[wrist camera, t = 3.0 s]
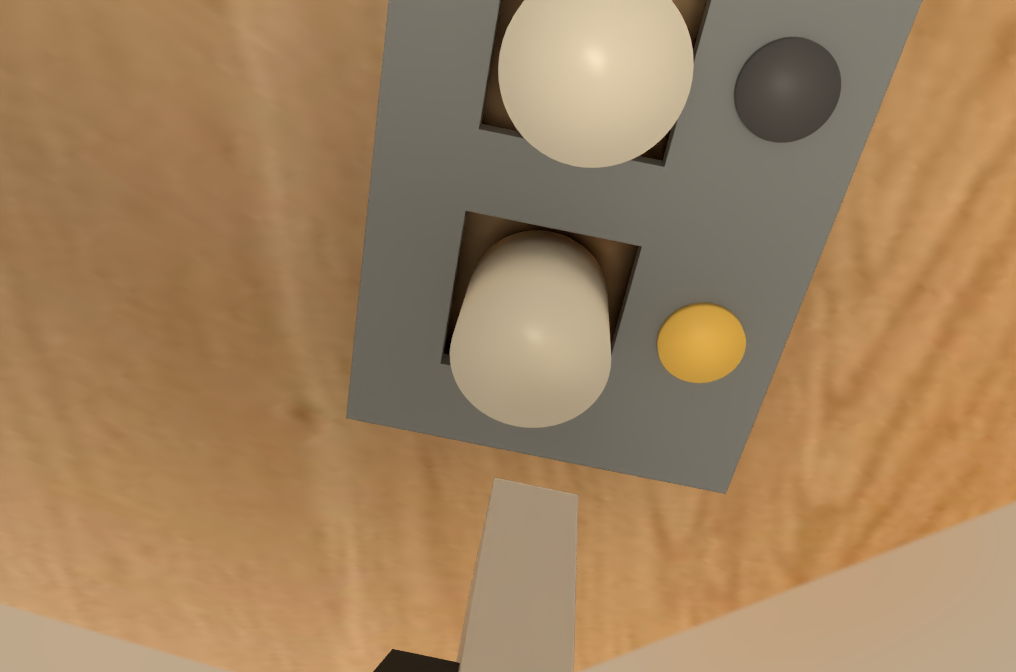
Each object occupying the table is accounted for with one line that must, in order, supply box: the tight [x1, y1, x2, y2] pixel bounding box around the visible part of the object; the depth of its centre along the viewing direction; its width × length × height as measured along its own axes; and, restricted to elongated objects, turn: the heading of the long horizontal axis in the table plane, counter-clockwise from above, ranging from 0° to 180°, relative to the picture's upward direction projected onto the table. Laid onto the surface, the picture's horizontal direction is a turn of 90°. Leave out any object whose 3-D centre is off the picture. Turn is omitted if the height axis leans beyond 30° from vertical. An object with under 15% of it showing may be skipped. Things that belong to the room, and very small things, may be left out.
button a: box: [450, 231, 611, 428], centre depth 22 cm, size 4×4×4 cm
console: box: [346, 0, 922, 494], centre depth 20 cm, size 12×24×3 cm, turn 169°
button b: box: [498, 0, 694, 168], centre depth 18 cm, size 4×4×4 cm
